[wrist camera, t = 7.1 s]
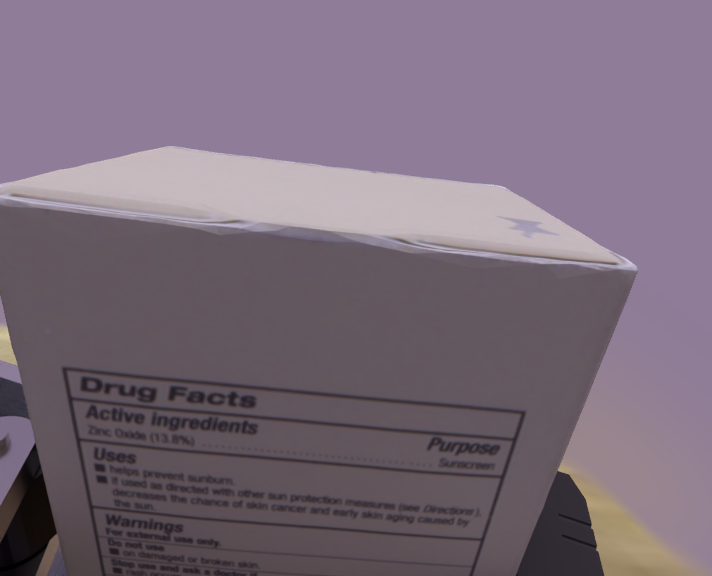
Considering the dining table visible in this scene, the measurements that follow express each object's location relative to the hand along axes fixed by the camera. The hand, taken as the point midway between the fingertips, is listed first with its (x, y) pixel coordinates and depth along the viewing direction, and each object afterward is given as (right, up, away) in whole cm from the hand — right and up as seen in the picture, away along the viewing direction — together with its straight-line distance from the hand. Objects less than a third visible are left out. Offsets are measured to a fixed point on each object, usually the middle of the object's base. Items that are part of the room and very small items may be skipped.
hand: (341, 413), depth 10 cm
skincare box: (-2, -7, +1) cm, 7 cm away
